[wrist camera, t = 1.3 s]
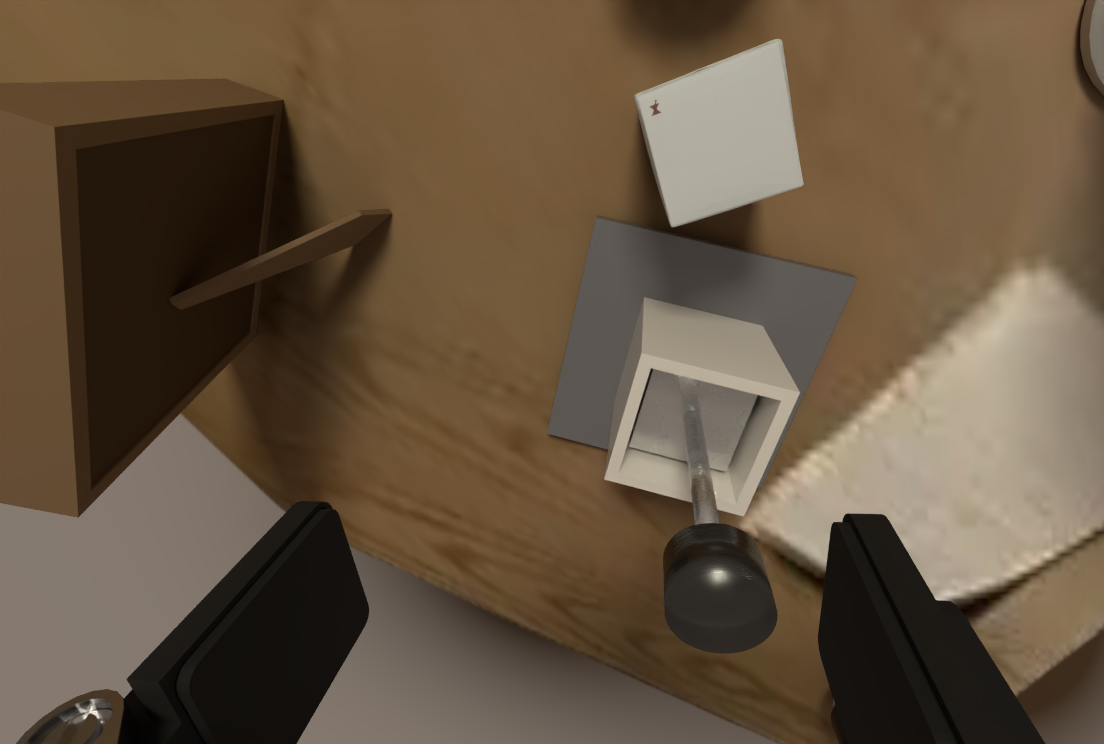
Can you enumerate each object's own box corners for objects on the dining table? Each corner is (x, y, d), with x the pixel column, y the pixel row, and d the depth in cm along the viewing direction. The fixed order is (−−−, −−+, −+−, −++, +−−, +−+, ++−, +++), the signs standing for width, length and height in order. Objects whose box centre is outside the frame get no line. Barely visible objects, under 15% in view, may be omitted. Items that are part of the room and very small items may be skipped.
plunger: (759, 380, 36) (843, 576, 20) (724, 465, 39) (773, 692, 23) (656, 355, 36) (659, 527, 21) (629, 440, 39) (615, 647, 24)
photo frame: (215, 318, 52) (-106, 463, 30) (233, 79, 43) (-217, 28, 20) (357, 375, 53) (144, 561, 30) (407, 150, 43) (150, 176, 21)
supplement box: (662, 203, 41) (666, 232, 30) (636, 101, 39) (630, 90, 28) (762, 171, 39) (807, 189, 28) (742, 61, 37) (782, 32, 25)
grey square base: (851, 274, 41) (933, 333, 29) (758, 481, 50) (791, 592, 38) (597, 215, 43) (576, 249, 31) (549, 427, 51) (518, 517, 39)
